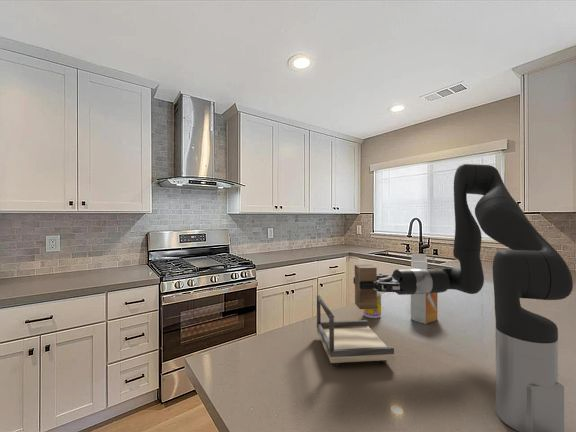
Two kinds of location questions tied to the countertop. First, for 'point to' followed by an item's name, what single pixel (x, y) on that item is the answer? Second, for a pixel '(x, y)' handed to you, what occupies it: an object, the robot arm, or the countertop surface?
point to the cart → (350, 339)
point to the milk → (418, 261)
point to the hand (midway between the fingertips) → (356, 283)
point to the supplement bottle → (374, 312)
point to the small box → (424, 307)
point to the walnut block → (365, 296)
